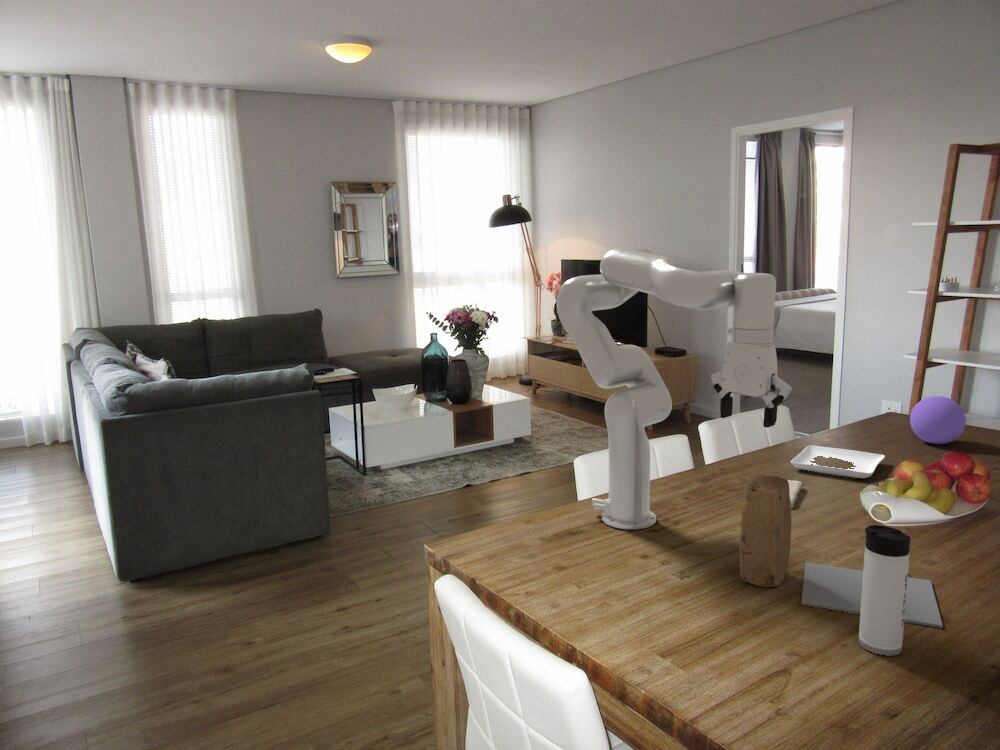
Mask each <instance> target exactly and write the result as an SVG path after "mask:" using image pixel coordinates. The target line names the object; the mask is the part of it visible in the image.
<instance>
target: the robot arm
mask: <svg viewBox="0 0 1000 750" xmlns="http://www.w3.org/2000/svg"><path fill="white" fill-rule="evenodd" d="M599 271H600V274H588V275H579V276H575V277H571V278H570V279H567V280H566V281H564V283H563V284H562V285H561V286H560V288H559V290H558V291H557V292H558V293H557V297H556V312H557V315H558V319H559V321H560V323H561V325H562V327H563V328H564V329H565V331H566V333H567V335H569V337H570V339H571V340H572V341H573V343H574V345H575V347H576V349H577V351H578V353H579V355H580V357H581V359H582V360H583V362H584V365H585V366H586V368H587V371H588V373H589V374H590V376H591V378H592V380H593V382H594V383H595V384H596V385H597V387H599V388H601V389H607V390H608V389H609V390H610V389H615V388H619V387H624V386H626V388H623V389H620V390H617V391H615V392H614V393H612V394H611V395H610V396H609V397H608V398H607V400H606V402H605V405H604V418H605V419H604V420H605V423H606V429H607V437H608V441H607V443H608V498H605V499H602V498H598V497H597V498H595V497H592V499H591V506H592V507H593V509H594V510H601V511H603V512H602V514H601V521H603V522H604V524H606V525H608V526H610V527H612V528H615V529H620V530H621V529H622V530H641V529H647V528H650V527H652V526H653V525H654V524H655V523H657V515H656V514H655V513H654V512H653V511H652V510H650V501H651V499H650V498H651V497H650V495H651V494H650V491H651V486H650V485H651V446H650V441H649V438H648V436H647V432H646V430H645V428H646V427H647V426H650V425H653V424H654V425H655V424H657V423H660V422H663V421H664V420H666V419H667V418H668V417H669V416H670V414H671V413H672V408H673V401H672V396H671V394H670V391H669V389H668V387H667V386H666V383H665V382H664V380H663V379H662V377H661V374H660V373H659V371H658V370H657V368H656V366H655V364H654V362H653V361H652V359H651V357H650V356H649V354H648V352H646V351H645V350H644V349H643V348H642V347H640V346H637V345H635V344H623V345H618V344H617V343H616V342H615V340H614V338H613V337H612V335H611V333H610V331H609V329H608V328H607V326H606V325H605V323H603V322H602V321H601V320H600V319H599V318H598V317H596V316H595V315H594V314H593V312H594V311H601V310H602V311H603V310H604V311H605V310H611V309H614V308H617V307H619V306H621V305H622V304H624V303H625V302H627V301H629V299H631V298H632V297H634V296H635V295H637V293H638V292H642V293H645V294H649V295H653V296H655V297H656V298H658V299H660V300H661V301H663V302H665V303H668V304H670V305H674V306H678V307H682V308H684V309H686V308H687V309H690V310H695V311H710V310H715V309H726V308H733V312H732V313H733V314H732V327H731V328H728V329H727V334H728V336H731V341H728V342H727V345H726V348H725V352H724V356H723V362H722V367H721V370H719V371H717V372H714V373H712V374H711V375H710V379H711V382H712V384H713V389H714V390H715V391H716V393H717V397H718V398H719V399H720V404H719V405H720V406H719V412H720V418H721V419H726V418H729V417H732V415H733V407H734V406H733V404H734V398H733V396H732V394H737V395H743V396H748V397H754V398H762V399H763V401H764V403H765V404H766V406H765V407H764V409H763V410H764V412H763V422H762V423H763V425H762V426H763V427H764V428H767V429H769V428H770V427H773V426H775V425H776V422H777V418H778V407H780V405H782V404H783V402H785V401H787V399H788V396H789V394H790V393H791V392H792V390H793V388H792V386H791V385H789V384H788V383H787V382H785V381H784V380H783V379H781V378H780V377H779V376H778V357H777V350H776V349H777V348H776V346H775V344H773V338H774V337H773V336H774V322H775V305H776V290H777V280H776V277H775V276H774V275H773V274H771V273H766V272H765V273H764V272H741V271H738V270H737V271H736V270H730V269H729V270H728V269H724V270H723V269H722V270H710V271H696V270H691V269H686V268H681V267H677V266H675V263H674V261H673V260H672V259H671V258H670V257H669V256H665V255H659V254H655V253H654V252H653V251H652V250H650V249H648V248H646V247H642V246H633V247H632V246H630V247H628V246H627V247H616V248H613V249H610V250H609V251H607V252H606V253H605V254H604V255H603V256H602V258H601V261H600V264H599ZM777 388H778V389H779V390H780V391H779V394H778V395H777V394H776V392H777Z"/></svg>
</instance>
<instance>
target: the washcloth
mask: <svg viewBox="0 0 1000 750" xmlns="http://www.w3.org/2000/svg"><path fill="white" fill-rule="evenodd" d="M786 480H787V481H788V483H789V491H790V492H789V494H790V502H791V508H792V509H793V508H794V506H795V503H796V502H795V500H796V498H797V499H798V496H797V494H798V492H799V490H800V489H801V488H802V486H803V482H801V481H800V480H793V479H792V480H789V479H786ZM801 490H802V489H801ZM799 493H800V492H799ZM798 495H799V494H798ZM796 501H797V500H796ZM794 502H795V503H794ZM793 505H794V506H793Z"/></svg>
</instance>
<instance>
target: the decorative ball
mask: <svg viewBox="0 0 1000 750" xmlns="http://www.w3.org/2000/svg"><path fill="white" fill-rule="evenodd" d="M909 416H910V417H909V423H910V426H911V430H912V431H913V432H914V434H915V435H916V436H917V437H918V438H919V439H921V440H922V441H923V442H926V443H929V444H932V443H933V444H932V445H946V444H949V443H952V442H953V441H955V440H957V439H958V438H959V437H960V436H961V435H962V434H963V432H964V430H965V428H966V424H967V423H966V422H967V420H966V419H967V418H966V414H965V412H964V410H963V408H962V407H961V405H960V404H959V403H958V402H956V401H955V400H953V399H951V398H949V397H947V396H946V397H945V396H943V395H942V396H941V395H931V396H929V397H925V398H924V399H921V400H920V401H918V402H917V403H916V404H915V405H914V407H913V408H912V409H911V412H910V415H909Z"/></svg>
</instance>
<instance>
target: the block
mask: <svg viewBox="0 0 1000 750" xmlns="http://www.w3.org/2000/svg"><path fill="white" fill-rule="evenodd" d="M787 480H788V479H786V478H785V477H783V478H782V477H779V476H772V475H763V474H761V475H758V476H756V477H754V478H753V479H751V480H750V481H748V484H747V485H745V487H744V490H743V491H744V492H743V493H744V495H743V496H744V497H743V502H742V506H741V515H740V516H741V519H740V532H739V533H740V534H739V537H740V538H739V576H740V578H741V580H743V581H744V582H747V583H749V585H750V584H751V585H754V586H756V587H760V588H769V587H770V588H772V587H773V588H774V587H775V588H776V587H777V586H780V585H781V584H782V583H783V582H784V580H785V577H786V574H787V568H788V566H789V562H790V554H791V553H790V551H791V540H792V539H791V538H792V509H791V502H790V494H789V492H790V491H789V483H788V481H787Z"/></svg>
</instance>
